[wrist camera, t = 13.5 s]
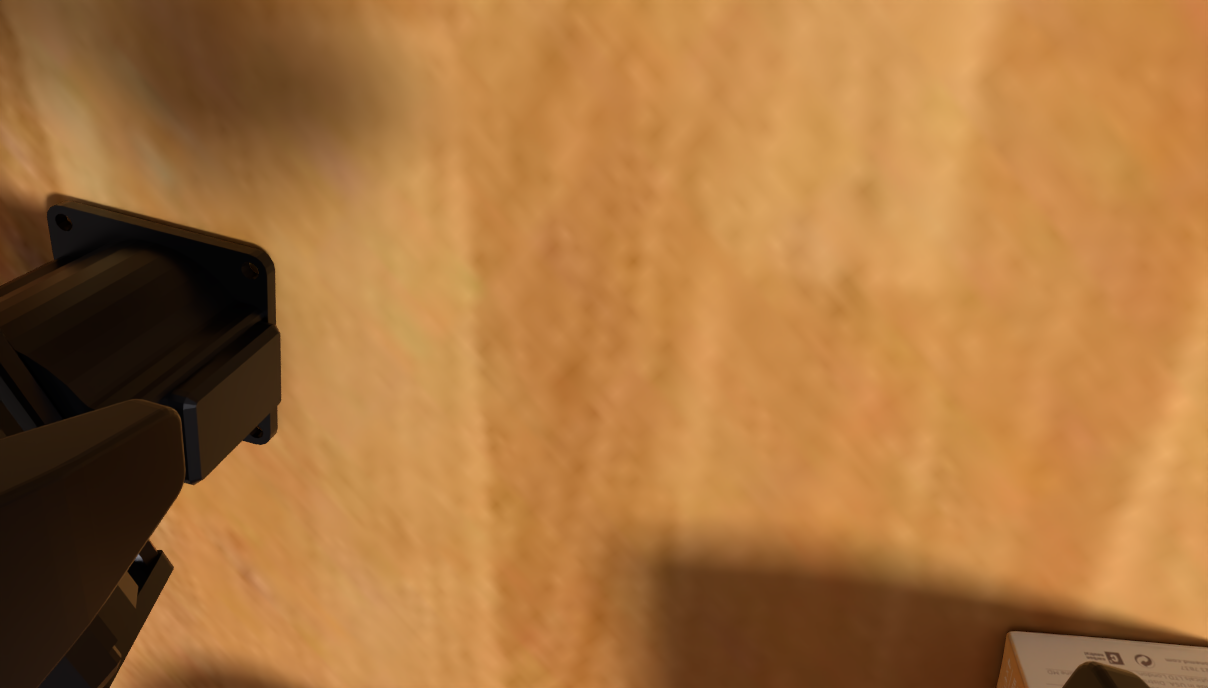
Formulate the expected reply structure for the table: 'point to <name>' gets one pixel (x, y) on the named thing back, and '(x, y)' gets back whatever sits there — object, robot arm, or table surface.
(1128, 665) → the small box
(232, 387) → the robot arm
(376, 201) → the table surface
